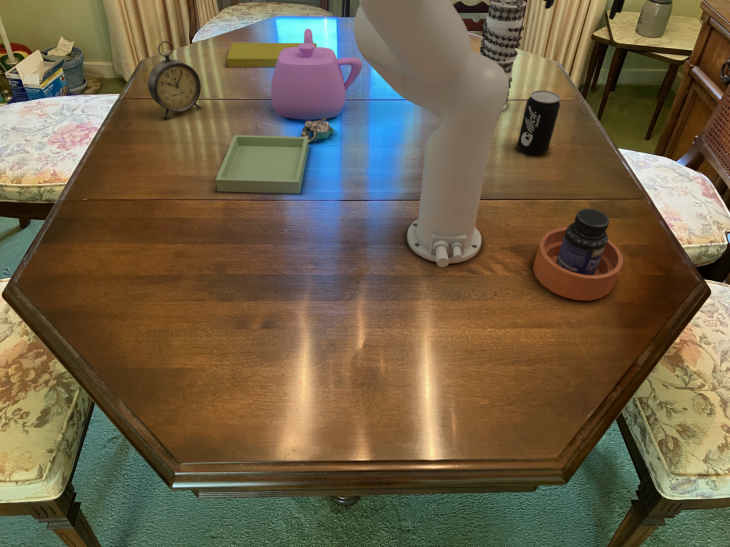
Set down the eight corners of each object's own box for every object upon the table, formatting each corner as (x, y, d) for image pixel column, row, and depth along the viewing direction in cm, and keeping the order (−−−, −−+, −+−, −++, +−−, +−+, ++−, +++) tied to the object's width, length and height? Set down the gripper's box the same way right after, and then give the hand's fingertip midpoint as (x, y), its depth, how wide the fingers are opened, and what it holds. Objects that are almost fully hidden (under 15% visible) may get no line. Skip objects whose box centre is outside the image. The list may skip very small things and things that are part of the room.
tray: (299, 193, 104) (298, 182, 103) (217, 191, 104) (215, 179, 103) (308, 147, 118) (308, 136, 116) (235, 145, 118) (234, 134, 116)
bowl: (623, 303, 84) (634, 279, 80) (542, 301, 84) (550, 276, 81) (599, 251, 93) (608, 228, 90) (525, 249, 93) (532, 226, 90)
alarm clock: (163, 123, 125) (145, 50, 114) (152, 114, 128) (134, 43, 117) (206, 109, 130) (193, 39, 119) (195, 101, 133) (181, 32, 122)
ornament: (319, 125, 125) (319, 110, 123) (340, 136, 122) (340, 120, 119) (292, 136, 121) (291, 121, 119) (312, 148, 118) (312, 132, 115)
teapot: (362, 125, 126) (363, 59, 116) (269, 125, 125) (262, 58, 115) (359, 84, 143) (360, 24, 133) (278, 84, 142) (272, 23, 132)
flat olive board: (227, 66, 150) (316, 66, 151) (226, 58, 149) (315, 58, 150) (233, 50, 159) (316, 50, 160) (232, 42, 158) (316, 43, 159)
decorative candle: (506, 97, 139) (528, -11, 122) (510, 113, 132) (533, 1, 115) (469, 95, 139) (486, -13, 123) (471, 111, 132) (489, -1, 116)
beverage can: (548, 158, 116) (563, 104, 108) (516, 154, 117) (528, 101, 109) (547, 143, 121) (560, 91, 113) (516, 140, 122) (528, 87, 114)
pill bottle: (586, 291, 85) (609, 235, 78) (548, 277, 87) (566, 221, 80) (597, 269, 89) (619, 213, 82) (559, 256, 91) (578, 201, 84)
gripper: (545, -127, 74) (518, 8, 86) (683, -115, 69) (635, 28, 80) (558, -131, 80) (531, -3, 91) (687, -121, 74) (641, 15, 85)
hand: (579, 11), depth 85 cm, fingers open, 9 cm apart
